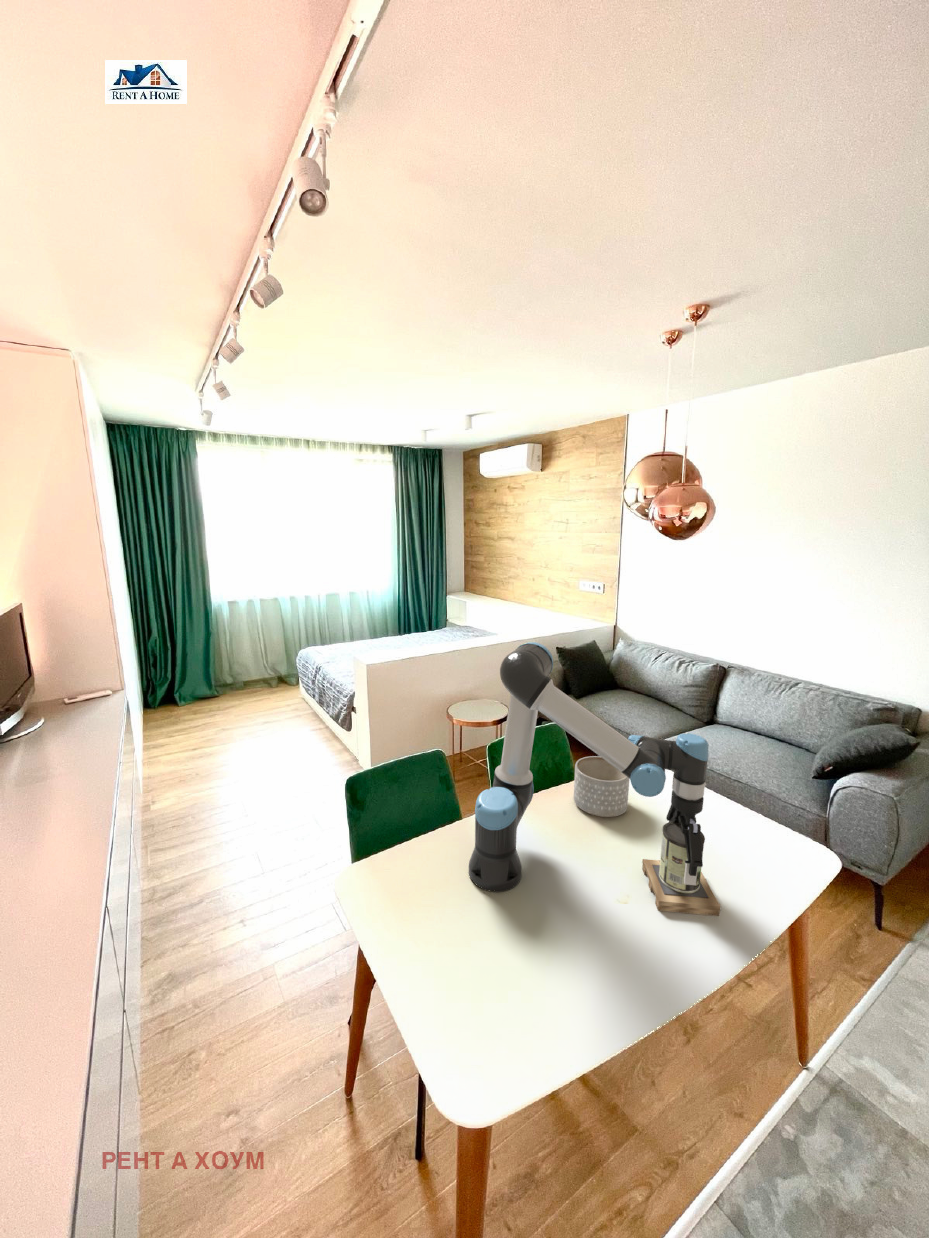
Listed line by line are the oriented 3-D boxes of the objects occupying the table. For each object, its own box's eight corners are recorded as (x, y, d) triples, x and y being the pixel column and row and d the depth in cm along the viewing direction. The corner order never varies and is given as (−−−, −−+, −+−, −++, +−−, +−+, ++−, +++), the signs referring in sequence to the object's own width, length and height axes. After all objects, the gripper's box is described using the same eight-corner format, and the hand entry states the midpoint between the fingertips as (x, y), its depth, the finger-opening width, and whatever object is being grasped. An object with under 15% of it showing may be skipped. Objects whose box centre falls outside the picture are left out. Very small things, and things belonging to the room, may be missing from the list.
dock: (658, 911, 120) (659, 899, 120) (641, 868, 136) (642, 857, 135) (719, 916, 118) (720, 905, 118) (695, 872, 134) (696, 862, 134)
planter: (593, 786, 181) (595, 751, 178) (637, 807, 167) (640, 770, 164) (562, 802, 169) (564, 766, 167) (607, 827, 155) (610, 787, 152)
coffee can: (693, 869, 131) (698, 823, 128) (704, 896, 121) (710, 847, 118) (654, 864, 133) (659, 818, 130) (662, 890, 123) (667, 842, 120)
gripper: (723, 822, 110) (714, 902, 113) (685, 770, 134) (679, 837, 138) (690, 820, 110) (682, 899, 114) (658, 769, 135) (652, 835, 138)
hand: (680, 865), depth 126 cm, fingers open, 13 cm apart
